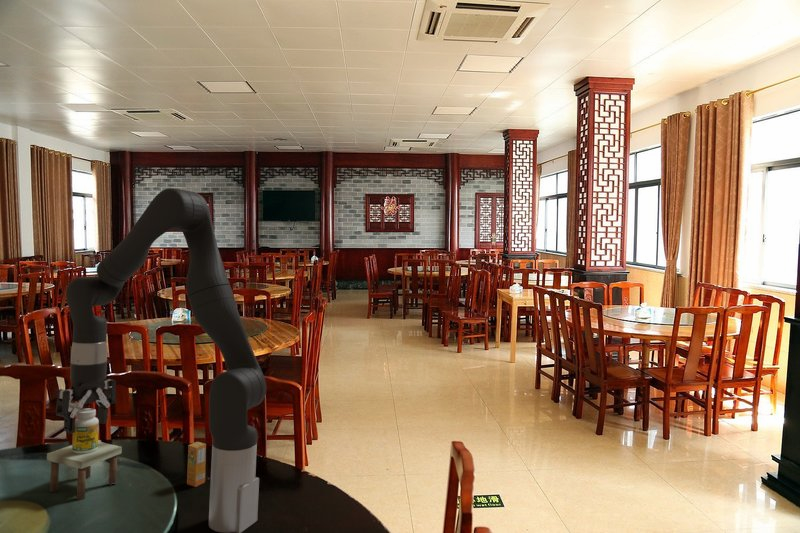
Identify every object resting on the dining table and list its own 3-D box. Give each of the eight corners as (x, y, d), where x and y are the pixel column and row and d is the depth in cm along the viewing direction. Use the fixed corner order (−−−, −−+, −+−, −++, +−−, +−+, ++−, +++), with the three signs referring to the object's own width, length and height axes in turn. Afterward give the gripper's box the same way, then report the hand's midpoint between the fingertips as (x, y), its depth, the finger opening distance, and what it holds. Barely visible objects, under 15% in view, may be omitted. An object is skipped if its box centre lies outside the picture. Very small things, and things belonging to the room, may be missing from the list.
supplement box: (185, 484, 134) (187, 444, 134) (196, 479, 137) (198, 440, 137) (194, 487, 133) (196, 447, 132) (205, 483, 136) (207, 443, 135)
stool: (120, 483, 133) (121, 446, 133) (79, 501, 123) (81, 461, 122) (87, 474, 137) (88, 439, 137) (45, 491, 126) (47, 453, 126)
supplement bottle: (96, 445, 133) (98, 406, 133) (98, 452, 129) (100, 412, 128) (71, 448, 130) (72, 408, 130) (72, 455, 126) (74, 414, 125)
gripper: (73, 367, 121) (70, 439, 121) (125, 357, 135) (123, 422, 135) (49, 363, 124) (46, 433, 124) (103, 354, 137) (100, 417, 137)
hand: (86, 427), depth 129 cm, fingers open, 8 cm apart
